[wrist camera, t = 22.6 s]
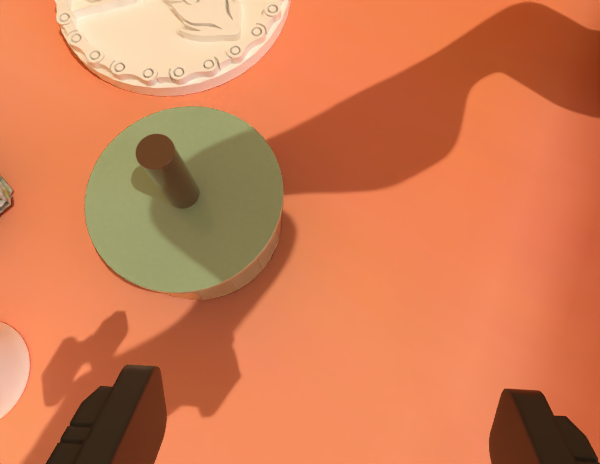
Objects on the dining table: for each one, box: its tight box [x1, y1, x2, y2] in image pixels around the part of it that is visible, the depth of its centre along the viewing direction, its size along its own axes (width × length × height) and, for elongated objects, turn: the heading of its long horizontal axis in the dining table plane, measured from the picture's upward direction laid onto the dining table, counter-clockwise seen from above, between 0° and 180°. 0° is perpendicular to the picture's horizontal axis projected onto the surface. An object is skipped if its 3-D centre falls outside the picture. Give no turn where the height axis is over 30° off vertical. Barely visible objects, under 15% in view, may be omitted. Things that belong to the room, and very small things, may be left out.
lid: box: [85, 106, 284, 294], centre depth 34 cm, size 15×15×8 cm
